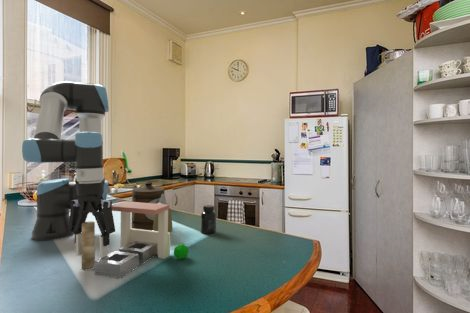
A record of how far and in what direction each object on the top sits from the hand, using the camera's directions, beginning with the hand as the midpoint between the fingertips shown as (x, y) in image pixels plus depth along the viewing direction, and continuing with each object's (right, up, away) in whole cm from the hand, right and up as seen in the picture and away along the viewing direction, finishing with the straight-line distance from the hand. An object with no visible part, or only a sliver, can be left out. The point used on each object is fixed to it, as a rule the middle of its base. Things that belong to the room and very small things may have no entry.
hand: (92, 255), depth 90 cm
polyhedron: (+26, -5, +9) cm, 28 cm away
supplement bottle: (+32, -4, +40) cm, 51 cm away
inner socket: (+11, -4, +9) cm, 15 cm away
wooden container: (+3, -3, +47) cm, 47 cm away
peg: (-2, -4, +1) cm, 4 cm away
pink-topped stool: (+11, -4, +10) cm, 16 cm away
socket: (+8, -4, -1) cm, 9 cm away
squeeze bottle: (+14, -4, +33) cm, 36 cm away
